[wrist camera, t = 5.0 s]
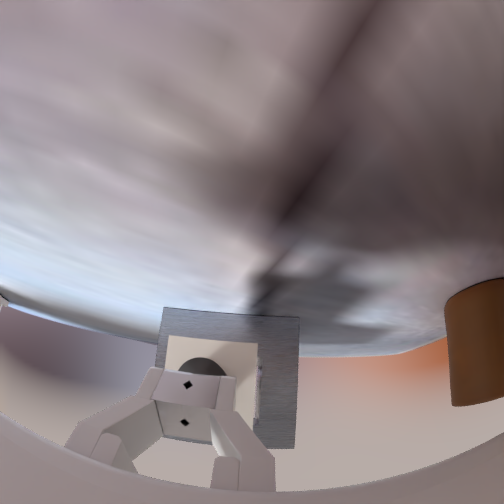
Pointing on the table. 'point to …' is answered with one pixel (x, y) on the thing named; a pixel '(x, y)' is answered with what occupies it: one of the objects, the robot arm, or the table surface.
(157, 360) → the housing
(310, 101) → the table surface
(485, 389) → the mug
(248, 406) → the plug
